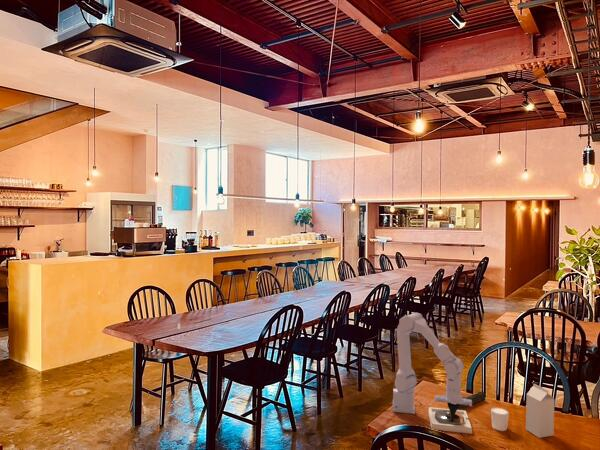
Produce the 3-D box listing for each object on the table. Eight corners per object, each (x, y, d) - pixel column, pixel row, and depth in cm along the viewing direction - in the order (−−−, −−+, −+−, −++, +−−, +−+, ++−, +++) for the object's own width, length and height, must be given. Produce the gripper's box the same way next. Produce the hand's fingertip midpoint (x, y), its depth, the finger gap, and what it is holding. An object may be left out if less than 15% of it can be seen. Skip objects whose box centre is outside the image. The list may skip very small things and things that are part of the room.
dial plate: (431, 429, 182) (431, 423, 181) (428, 411, 197) (428, 406, 197) (472, 433, 178) (472, 427, 178) (466, 415, 194) (466, 410, 194)
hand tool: (478, 398, 212) (478, 388, 212) (485, 401, 209) (485, 391, 208) (452, 407, 202) (452, 397, 202) (459, 410, 199) (459, 400, 199)
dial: (428, 415, 190) (428, 407, 190) (448, 409, 196) (448, 401, 196) (451, 428, 179) (451, 419, 179) (471, 421, 185) (471, 413, 185)
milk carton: (539, 438, 175) (540, 391, 174) (525, 429, 182) (526, 384, 181) (553, 435, 177) (554, 389, 176) (539, 427, 184) (540, 382, 183)
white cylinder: (509, 426, 185) (509, 409, 184) (507, 433, 179) (508, 416, 178) (491, 421, 188) (491, 405, 188) (489, 428, 182) (489, 412, 182)
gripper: (435, 389, 181) (434, 422, 181) (473, 394, 177) (472, 427, 178) (434, 383, 187) (433, 414, 188) (471, 387, 184) (469, 419, 184)
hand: (452, 420), depth 183 cm, fingers closed, pressing on dial
